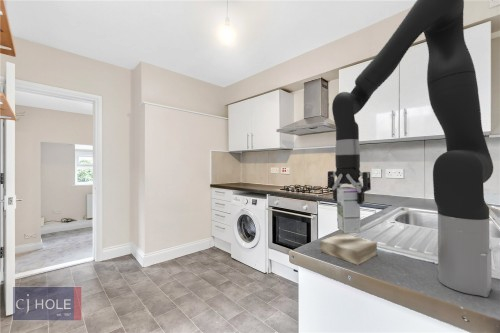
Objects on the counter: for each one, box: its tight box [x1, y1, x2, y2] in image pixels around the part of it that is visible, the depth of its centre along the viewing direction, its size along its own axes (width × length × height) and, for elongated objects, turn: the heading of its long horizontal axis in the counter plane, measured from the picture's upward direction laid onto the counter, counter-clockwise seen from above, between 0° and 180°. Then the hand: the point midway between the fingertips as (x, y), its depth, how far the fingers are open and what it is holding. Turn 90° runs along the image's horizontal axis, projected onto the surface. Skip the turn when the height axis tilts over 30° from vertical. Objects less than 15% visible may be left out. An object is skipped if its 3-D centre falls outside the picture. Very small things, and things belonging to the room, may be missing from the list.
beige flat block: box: [320, 233, 378, 266], centre depth 76 cm, size 13×12×4 cm
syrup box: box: [336, 186, 361, 234], centre depth 76 cm, size 6×6×14 cm
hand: (347, 202), depth 76 cm, fingers closed on syrup box, 8 cm apart
